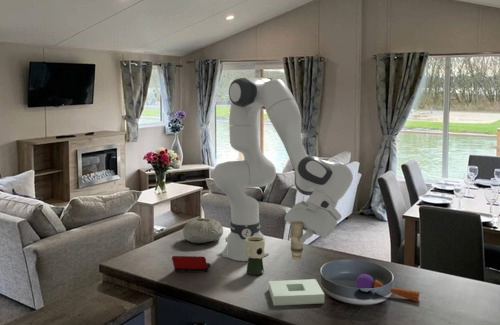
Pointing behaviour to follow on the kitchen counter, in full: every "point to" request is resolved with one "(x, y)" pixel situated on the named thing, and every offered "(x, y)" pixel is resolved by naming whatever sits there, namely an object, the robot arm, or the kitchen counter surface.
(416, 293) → the purple and orange maraca
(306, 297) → the sage board
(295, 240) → the beech peg
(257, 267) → the character mug
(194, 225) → the decorative shell
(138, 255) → the kitchen counter surface
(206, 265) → the handheld game console
